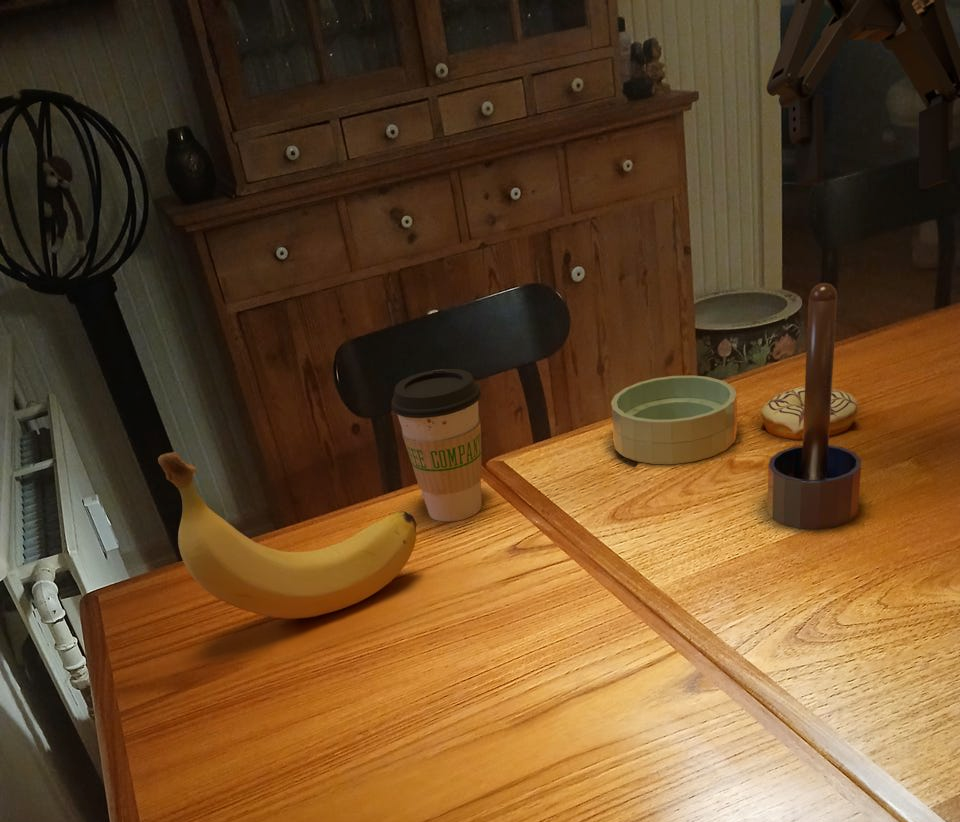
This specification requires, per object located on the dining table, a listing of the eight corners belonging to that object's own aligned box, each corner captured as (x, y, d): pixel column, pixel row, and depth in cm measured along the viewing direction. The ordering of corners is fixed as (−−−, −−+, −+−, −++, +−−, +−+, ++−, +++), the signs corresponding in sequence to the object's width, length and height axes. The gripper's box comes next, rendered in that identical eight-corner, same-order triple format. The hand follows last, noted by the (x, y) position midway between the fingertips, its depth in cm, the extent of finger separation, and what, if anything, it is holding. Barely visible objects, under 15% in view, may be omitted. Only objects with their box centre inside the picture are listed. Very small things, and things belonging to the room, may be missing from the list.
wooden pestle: (839, 499, 100) (854, 273, 88) (837, 522, 97) (852, 290, 84) (788, 498, 102) (796, 277, 90) (784, 520, 98) (791, 293, 86)
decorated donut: (743, 426, 121) (743, 397, 118) (817, 404, 123) (818, 374, 121) (797, 453, 112) (798, 422, 110) (874, 428, 115) (877, 397, 113)
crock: (858, 498, 102) (862, 444, 98) (855, 538, 95) (859, 482, 92) (772, 496, 105) (773, 444, 101) (763, 535, 98) (764, 481, 95)
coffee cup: (405, 531, 110) (379, 404, 102) (421, 492, 118) (398, 371, 110) (491, 526, 108) (472, 395, 100) (502, 487, 116) (484, 362, 108)
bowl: (743, 421, 122) (743, 374, 119) (727, 471, 111) (726, 421, 108) (628, 421, 127) (625, 376, 124) (602, 469, 116) (598, 422, 113)
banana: (414, 560, 104) (376, 378, 93) (436, 582, 100) (399, 393, 89) (208, 636, 97) (140, 449, 86) (222, 663, 93) (153, 469, 82)
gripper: (949, -48, 91) (949, 196, 94) (718, -74, 82) (729, 194, 86) (1018, -93, 84) (1016, 172, 87) (774, -127, 75) (783, 168, 79)
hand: (873, 184), depth 87 cm, fingers open, 13 cm apart
